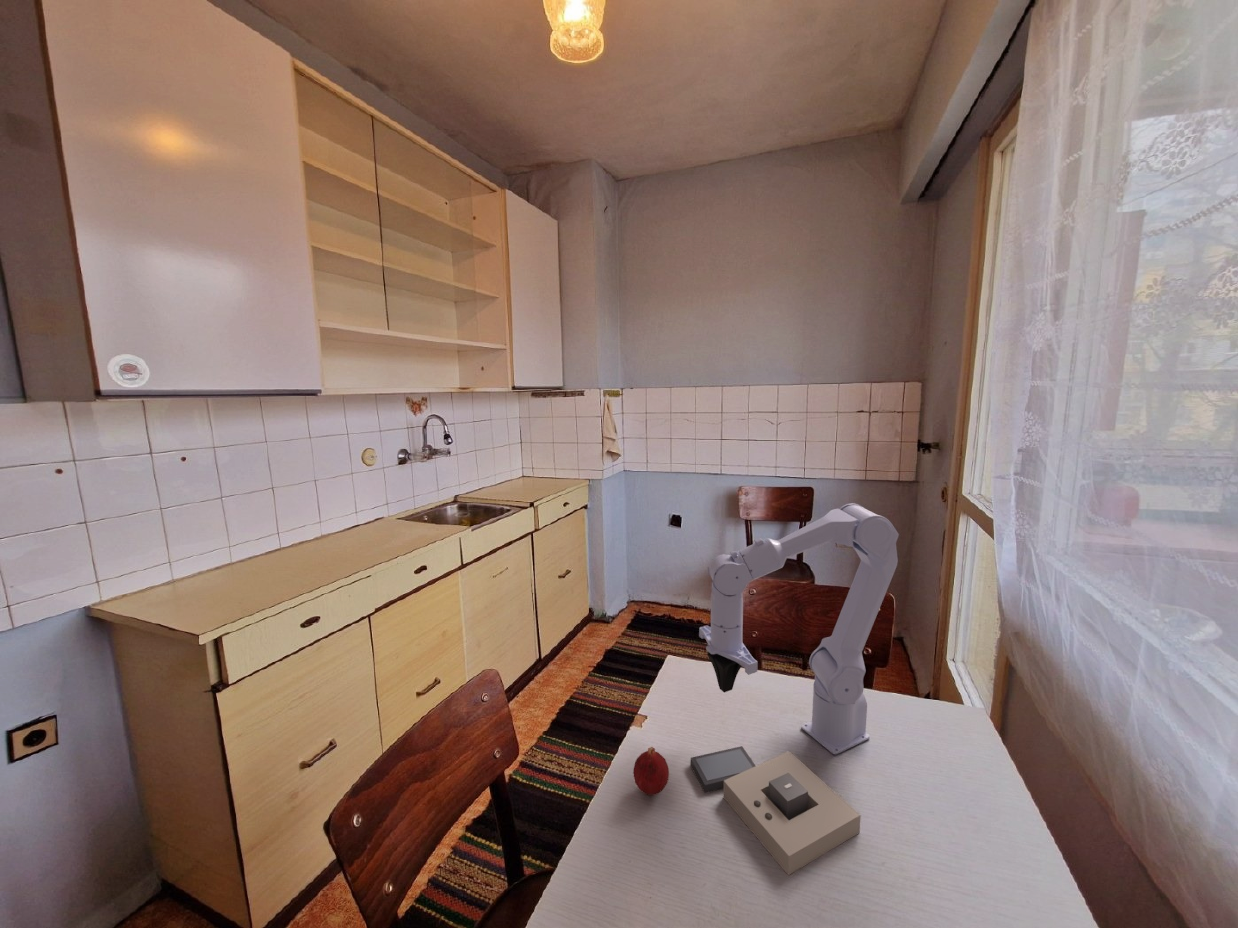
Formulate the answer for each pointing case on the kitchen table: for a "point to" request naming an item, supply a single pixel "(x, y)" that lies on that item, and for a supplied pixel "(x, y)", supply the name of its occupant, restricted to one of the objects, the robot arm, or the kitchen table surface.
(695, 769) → the phone
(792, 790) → the block
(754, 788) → the outlet plate
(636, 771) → the onion
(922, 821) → the kitchen table surface
